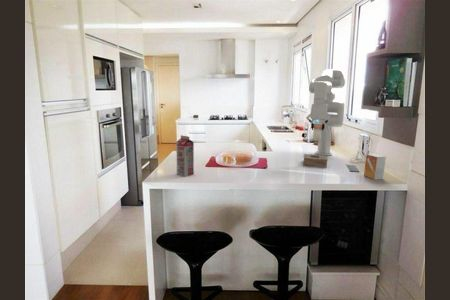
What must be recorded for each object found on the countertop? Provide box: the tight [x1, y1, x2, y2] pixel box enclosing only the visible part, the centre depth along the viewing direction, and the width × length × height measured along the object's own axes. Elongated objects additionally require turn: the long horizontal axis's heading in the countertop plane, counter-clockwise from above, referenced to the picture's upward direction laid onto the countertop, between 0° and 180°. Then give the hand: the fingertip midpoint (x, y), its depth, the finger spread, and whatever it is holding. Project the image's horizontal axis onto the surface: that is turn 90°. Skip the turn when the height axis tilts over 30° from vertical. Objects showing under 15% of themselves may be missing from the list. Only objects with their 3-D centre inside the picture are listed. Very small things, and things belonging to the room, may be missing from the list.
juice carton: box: [175, 135, 195, 178], centre depth 159 cm, size 7×7×22 cm
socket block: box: [303, 153, 328, 169], centre depth 188 cm, size 14×14×6 cm
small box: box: [363, 153, 387, 180], centre depth 163 cm, size 8×6×13 cm
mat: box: [346, 164, 360, 173], centre depth 184 cm, size 16×12×1 cm
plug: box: [312, 122, 322, 142], centre depth 185 cm, size 6×6×11 cm
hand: (317, 129), depth 185 cm, fingers closed on plug, 5 cm apart
